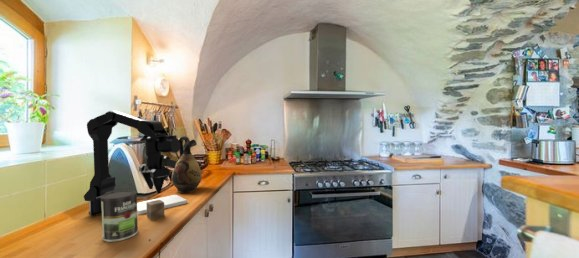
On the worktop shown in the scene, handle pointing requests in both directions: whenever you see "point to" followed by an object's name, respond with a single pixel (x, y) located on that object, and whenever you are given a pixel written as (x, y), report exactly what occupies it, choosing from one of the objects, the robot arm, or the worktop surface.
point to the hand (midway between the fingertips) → (154, 191)
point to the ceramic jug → (186, 168)
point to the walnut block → (155, 209)
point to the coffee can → (119, 215)
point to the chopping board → (168, 201)
